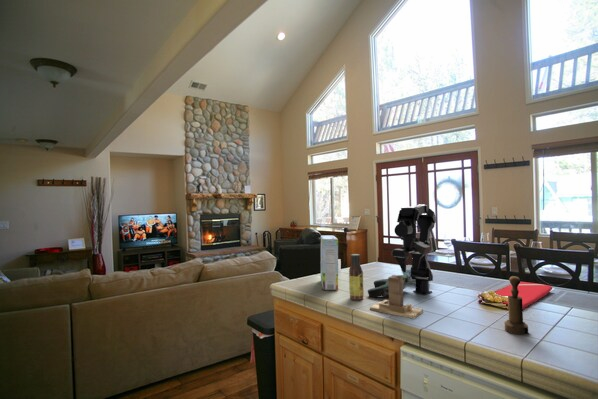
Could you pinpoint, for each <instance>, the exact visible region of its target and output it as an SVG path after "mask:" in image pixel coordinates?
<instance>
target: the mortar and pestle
mask: <svg viewBox="0 0 598 399" xmlns="http://www.w3.org/2000/svg"><path fill="white" fill-rule="evenodd" d="M508 281H509V284H510V285H512V289H511V293H512V296H508V309H509V310H508V309H507V310H508V319H507V320H505V321H504V331H505V332H507V333H510V334H513V335H519V336H520V335H522V336H523V335H528V334H529V326H528V324H526V322H525V321H524V316H523V315H524V314H523V312H524V310H523V309H522V297H519V296H518V293H519V290H518V288H517V287H518V285H519V283H520V282H521V279H520V277H519V276H515V275H512V276H510V277H509V278H508Z"/></svg>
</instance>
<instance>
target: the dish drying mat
mask: <svg viewBox="0 0 598 399" xmlns="http://www.w3.org/2000/svg"><path fill="white" fill-rule="evenodd" d="M517 288H518V290H519V293H518V296H519V297H522V309H523V308H524V309H525V308H527V307H529V306H530V304H531V305H532V304H534V303H536V302H537V301H539V300H540V299H542V298H543V297H545V296H546V295H548V294H549V293H550V292H551V291H552V290H553V287H552V285H549V284H542V283H536V282H528V281H520V283H519V285H518V287H517ZM511 289H512V285H511V284H509V285H507V286H505V287H502V288H499V289H498V290H495V291H494V292H495V293H496V294H498V295H501V296H512V293H511ZM481 299H482V298H480V299H479V300H478V304H480V303H481V302H482V300H481ZM533 302H534V303H533ZM502 303H503V304H506V306H508V302H502ZM528 305H529V306H528Z"/></svg>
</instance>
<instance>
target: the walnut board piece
mask: <svg viewBox="0 0 598 399" xmlns="http://www.w3.org/2000/svg"><path fill="white" fill-rule="evenodd" d="M387 279H388V287H389V295H388V300H389V304H390V305H395V306H401V307H403V306H404V290H403V276H397V275H396V274H393V275H390V276H388V277H387Z"/></svg>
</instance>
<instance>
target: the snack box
mask: <svg viewBox="0 0 598 399" xmlns="http://www.w3.org/2000/svg"><path fill="white" fill-rule="evenodd" d="M320 283H321V287H322V290H323V291H338V290H339V239H338V238H337V237H336V236H335V235H332V234H331V235H329V234H327V235H323V234H322V235H320Z"/></svg>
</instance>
